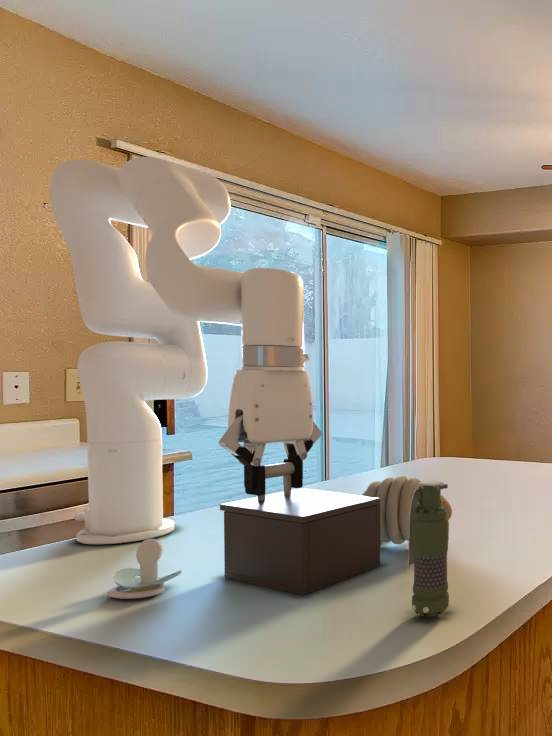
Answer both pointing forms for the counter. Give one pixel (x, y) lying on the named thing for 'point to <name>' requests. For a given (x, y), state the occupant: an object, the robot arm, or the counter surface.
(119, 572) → the pacifier
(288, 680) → the counter surface
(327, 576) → the dark wooden chest
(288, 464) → the lid
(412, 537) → the grenade
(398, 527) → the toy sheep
